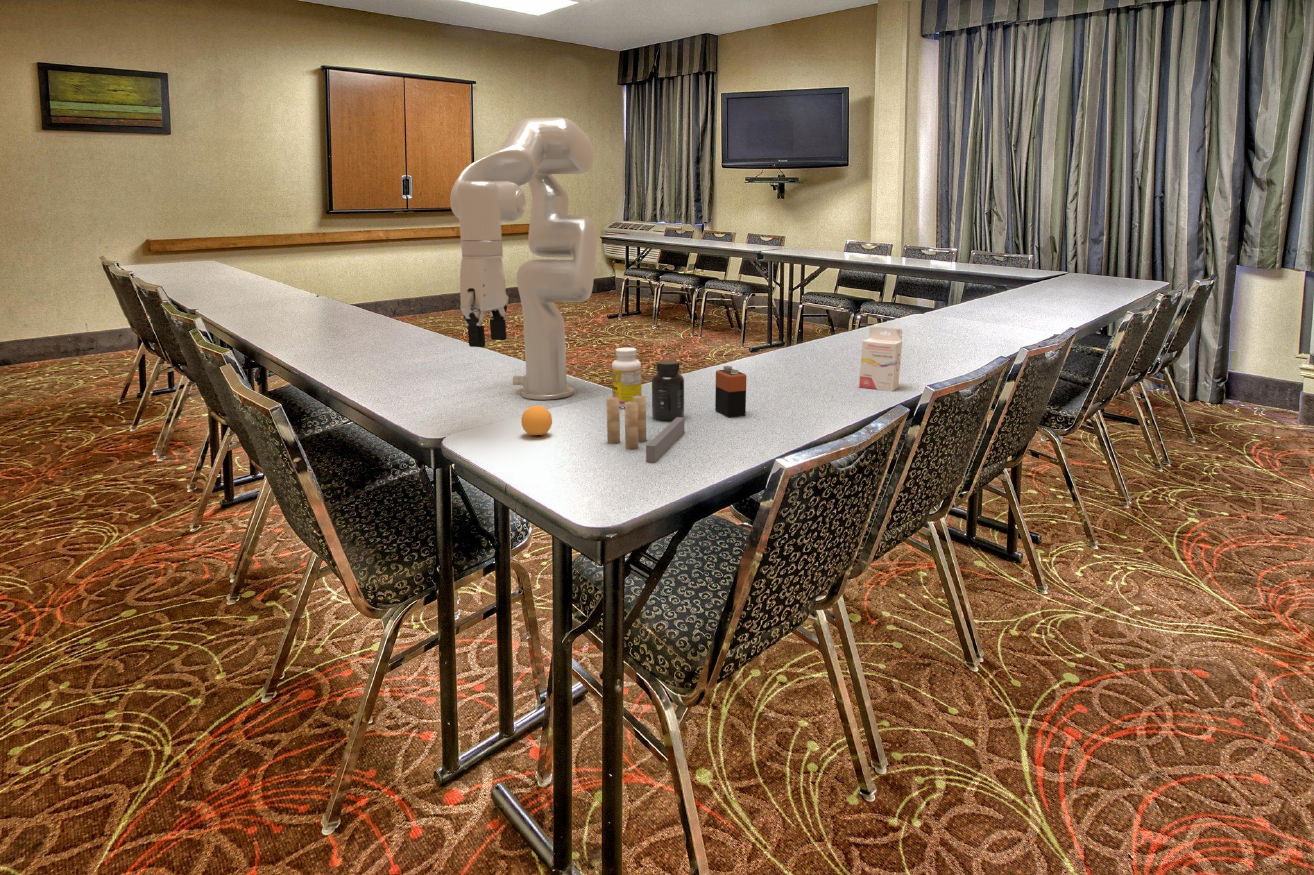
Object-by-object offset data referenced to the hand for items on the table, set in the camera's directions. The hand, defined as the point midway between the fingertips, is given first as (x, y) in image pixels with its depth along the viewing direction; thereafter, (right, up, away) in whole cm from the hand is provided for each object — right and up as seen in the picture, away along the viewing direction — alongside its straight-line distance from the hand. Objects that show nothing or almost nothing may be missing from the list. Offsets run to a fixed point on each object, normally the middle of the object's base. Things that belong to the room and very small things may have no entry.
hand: (488, 342), depth 152 cm
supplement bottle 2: (+35, -14, +15) cm, 41 cm away
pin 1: (+28, -20, -6) cm, 35 cm away
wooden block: (+24, -19, -2) cm, 31 cm away
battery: (+49, -13, +18) cm, 54 cm away
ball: (+9, -15, +2) cm, 18 cm away
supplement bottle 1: (+26, -11, +26) cm, 38 cm away
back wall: (+34, -20, -5) cm, 40 cm away
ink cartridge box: (+87, -6, +41) cm, 96 cm away
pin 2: (+29, -19, -1) cm, 35 cm away
